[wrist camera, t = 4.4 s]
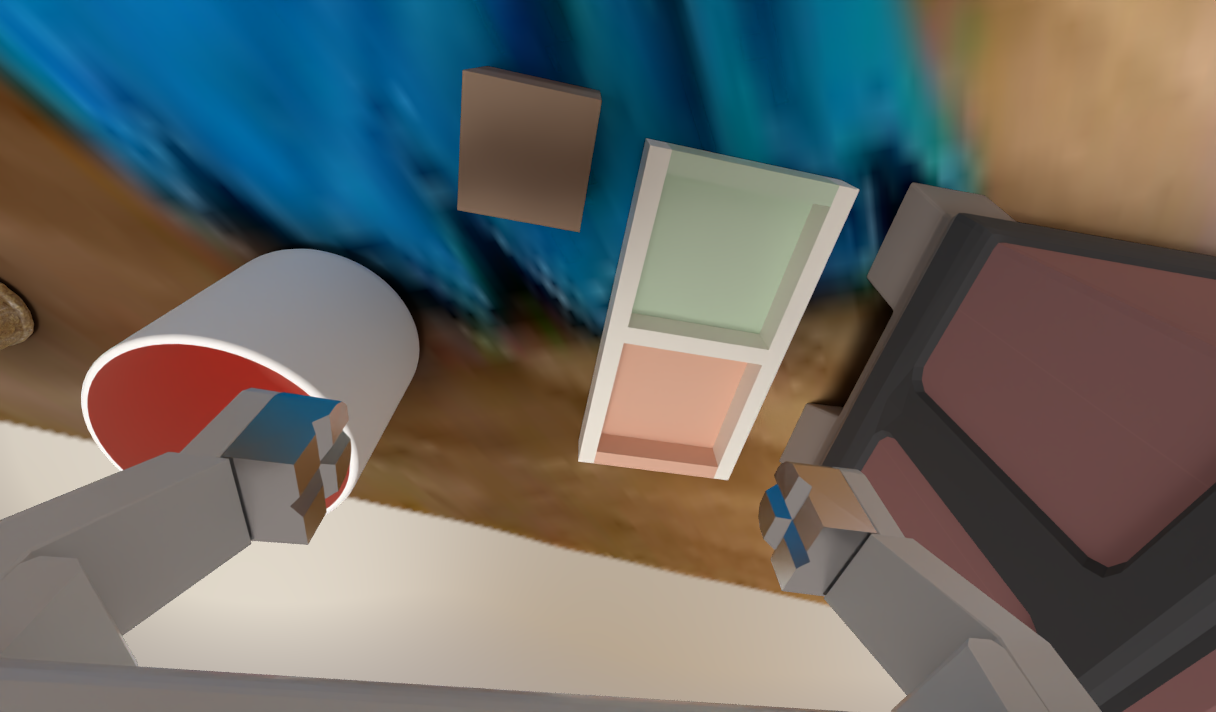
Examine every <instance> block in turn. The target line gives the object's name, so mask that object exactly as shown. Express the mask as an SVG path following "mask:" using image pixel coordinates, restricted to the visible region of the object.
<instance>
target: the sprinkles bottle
mask: <svg viewBox="0 0 1216 712" xmlns="http://www.w3.org/2000/svg"><path fill="white" fill-rule="evenodd" d="M33 327H34V322H33V320H32V315H31V313H30V310H29V309H28V308H27V306H26V304H25V303H24V302H23V301H22V299H21V298H20V297H19V296H18V295H16V294H15V293H14V292H13V291H11V290H10V289H9V288H7V286H6V285H4V284H2V283H0V350H2V349H3V348H5V347H7V346H12V345H15V344H18V343H21V342H23V341H25V340H26V339H27V338H28V337H29V336H30V335H31V334H32V333H33Z"/></svg>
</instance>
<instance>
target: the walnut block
mask: <svg viewBox="0 0 1216 712" xmlns="http://www.w3.org/2000/svg"><path fill="white" fill-rule="evenodd" d="M601 103H602V99H601V95H600V91H599V90H594V89H589V88H585V87H580V86H576V85H571V84H567V83H562V82H558V81H553V80H549V79H544V78H540V77H535V76H530V75H526V74H521V73H517V72H512V71H508V70H503V69H499V68H494V67H490V66H484V67H478V68H472V69H466V70H463V76H462V102H461V128H460V154H459V180H458V207H457V210H460V211H465V212H471V213H476V214H482V215H487V216H493V217H498V218H504V219H509V220H515V221H520V222H526V223H531V224H537V225H542V226H548V227H553V228H559V229H564V230H570V231H575V232H580V226H581V221H582V215H583V209H584V203H585V197H586V191H587V185H588V179H589V173H590V167H591V162H592V156H593V150H594V144H595V138H596V132H597V126H598V120H599V114H600V109H601Z"/></svg>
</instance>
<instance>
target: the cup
mask: <svg viewBox="0 0 1216 712" xmlns="http://www.w3.org/2000/svg"><path fill="white" fill-rule="evenodd" d="M418 360H419V338H418V333H417V329H416V326H415V323H414V321H413V318H412V316H411V314H410V312H409V310H408V309H407V307H406V305H405V304H404V302H403V301H402V299H401V298H400V297H399V295H398V294H397V293H396V292H395V291H394V290H393V289H392V287H390V286H389V285H388V284H387V283H386V282H385V281H384V280H383V279H382V278H380V277H379V276H378V275H376V274H375V273H374V272H372V271H371V270H369V269H368V268H366V267H364V266H362V265H361V264H359V263H357V262H355V261H352V260H350V259H348V258H345V257H343V256H340V255H337V254H333V253H329V252H325V251H320V250H314V249H286V250H279V251H274V252H270V253H267V254H264V255H261V256H259V257H257V258H255V259H253V260H251V261H249V262H248V263H246V264H244V265H243V266H241V267H240V268H238V269H237V270H235V271H233V272H232V273H230V274H229V275H227V276H225V277H224V278H222V279H221V280H219V281H217V282H216V283H214V284H213V285H211V286H209V287H208V288H206V289H205V290H203V291H201V292H200V293H198V294H197V295H195V296H193V297H192V298H190V299H189V300H187V301H186V302H184V303H182V304H181V305H179V306H178V307H176V308H174V309H173V310H171V311H170V312H168V313H166V314H165V315H163V316H162V317H160V318H158V319H157V320H155V321H154V322H152V323H150V324H149V325H147V326H146V327H144V328H143V329H141V330H139V331H138V332H136V333H135V334H133V335H131V336H130V337H128V338H127V339H125V340H123V341H122V342H120V343H119V344H117V345H115V346H114V347H112V348H111V349H109V350H108V351H106V352H105V353H104V354H102V355H101V356H100V357H99V358H98V359H97V360H96V361H95V362H94V363H93V365H92V366H91V368H90V369H89V371H88V372H87V375H86V377H85V379H84V382H83V386H82V392H81V407H82V412H83V416H84V420H85V422H86V425H87V428H88V430H89V432H90V434H91V436H92V437H93V439H94V441H95V442H96V444H97V445H98V447H99V448H100V450H101V451H102V452H103V453H104V455H105V456H106V457H107V458H108V459H109V460H110V461H111V462H112V464H113V465H114V466H116V468H117V469H118V470H120V471H122V470H125V469H127V468H130V467H132V466H135V465H137V464H140V463H142V462H145V461H147V460H149V459H152V458H154V457H157V456H159V455H162V454H164V453H167V452H175V453H180V452H181V451H182V450H183V449H184V448H185V447H186V446H187V445H188V444H189V443H190V442H191V441H192V440H193V439H194V438H195V437H196V436H197V435H198V434H199V433H200V432H201V431H202V430H203V429H204V428H205V427H206V426H207V425H208V424H209V423H210V422H211V421H212V420H213V419H214V418H215V417H216V416H217V415H218V414H219V413H220V412H221V411H222V410H223V409H224V408H225V407H226V406H227V405H228V404H229V403H230V402H231V401H232V400H233V399H234V398H235V397H236V396H237V395H238V394H239V393H240V392H241V391H243V390H246V389H249V388H257V389H263V390H270V391H276V392H281V393H282V392H286V393H292V394H299V395H305V396H311V397H318V398H324V399H331V400H337V401H342V402H344V403H345V404H346V405H347V409H348V416H349V420H348V422H347V424H346V425H345V427H344V428H343V431H344V432H345V433H346V434H347V436H348V437H349V438H350V439H351V459H350V464H349V467H348V471H347V474H346V477H345V479H344V481H343V483H342V485H341V487H340V489H339V491H338V492H336V493H334V494H333V495H331V496H329V497H328V498H326V499H325V503H326V511H327V512H326V514H328V513H329V512H331V511H333V510H334V509H335V508H337V507H338V506H339V505H340V504H341V503H342V502H343V501H344V500H345V499H346V498H347V497H348V496H349V494H350V493H351V491H352V489H353V488H354V486H355V484H356V482H357V480H358V478H359V477H360V475H361V473H362V471H363V469H364V467H365V465H366V464H367V462H368V460H369V458H370V456H371V454H372V452H373V451H374V449H375V447H376V445H377V443H378V441H379V439H380V438H381V436H382V434H383V432H384V430H385V428H386V426H387V425H388V423H389V421H390V419H391V417H392V415H393V413H394V412H395V410H396V408H397V406H398V404H399V402H400V400H401V399H402V397H403V395H404V393H405V391H406V389H407V387H408V386H409V384H410V382H411V380H412V378H413V376H414V374H415V371H416V368H417V364H418ZM326 514H325V515H326Z"/></svg>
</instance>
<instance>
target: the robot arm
mask: <svg viewBox="0 0 1216 712" xmlns="http://www.w3.org/2000/svg"><path fill="white" fill-rule="evenodd" d="M348 420H349V416H348V409H347V405H346V404H345V403H344V402H342V401H337V400H331V399H324V398H318V397H311V396H305V395H299V394H292V393H286V392H282V393H281V392H276V391H270V390H263V389H257V388H249V389H246V390H243V391H241V392H240V393H239V394H238V395H237V396H236V397H235V398H234V399H233V400H232V401H231V402H230V403H229V404H228V405H227V406H226V407H225V408H224V409H223V410H222V411H221V412H220V413H219V414H218V415H217V416H216V417H215V418H214V419H213V420H212V421H211V422H210V423H209V424H208V425H207V426H206V427H205V428H204V429H203V430H202V431H201V432H200V433H199V434H198V435H197V436H196V437H195V438H194V439H193V440H192V441H191V442H190V443H189V444H188V445H187V446H186V447H185V448H184V449H183V450H182V451H181V452H180V453H175V452H167V453H164V454H162V455H159V456H157V457H154V458H152V459H149V460H147V461H145V462H142V463H140V464H137V465H135V466H132V467H130V468H127V469H125V470H122V471H120V472H118V473H115V474H113V475H110V476H108V477H105V478H103V479H100V480H98V481H96V482H93V483H91V484H88V485H85V486H83V487H81V488H78V489H76V490H73V491H71V492H68V493H66V494H63V495H61V496H58V497H56V498H53V499H51V500H49V501H46V502H44V503H41V504H39V505H36V506H34V507H31V508H29V509H26V510H24V511H22V512H19V513H17V514H14V515H12V516H9V517H7V518H4V519H2V520H0V712H845V711H830V710H815V709H798V708H784V707H767V706H751V705H737V704H721V703H706V702H690V701H674V700H659V699H642V698H628V697H612V696H595V695H580V694H564V693H548V692H530V691H516V690H499V689H484V688H467V687H451V686H436V685H421V684H405V683H389V682H373V681H357V680H340V679H326V678H309V677H294V676H278V675H262V674H246V673H230V672H215V671H200V670H182V669H168V668H152V667H138V664H137V661H136V659H135V657H134V655H133V654H132V652H131V650H130V648H129V647H128V645H127V643H126V642H125V640H124V638H123V635H124V634H125V633H127V632H128V631H130V630H131V629H132V628H134V627H135V626H137V625H138V624H139V623H141V622H142V621H144V620H145V619H146V618H148V617H149V616H151V615H152V614H153V613H155V612H156V611H158V610H159V609H160V608H162V607H163V606H165V605H166V604H167V603H169V602H170V601H172V600H173V599H174V598H176V597H177V596H179V595H180V594H181V593H183V592H184V591H186V590H187V589H188V588H190V587H191V586H192V585H194V584H196V583H197V582H198V581H199V580H201V579H203V578H204V577H205V576H207V575H208V574H210V573H211V572H212V571H214V570H215V569H216V568H218V567H219V566H221V565H222V564H223V563H225V562H226V561H228V560H229V559H231V558H232V557H233V556H235V555H236V554H238V553H239V552H240V551H242V550H243V549H245V548H246V547H247V546H249V545H250V544H251V541H264V542H278V543H292V544H306V545H308V544H309V542H310V540H311V538H312V537H313V535H314V533H315V531H316V529H317V528H318V526H319V524H320V523H321V521H322V519H323V517H324V516H325V514H326V512H327V511H326V503H325V499H326V498H328V497H329V496H331V495H333V494H334V493H336V492H338V491H339V489H340V487H341V485H342V483H343V481H344V479H345V477H346V474H347V471H348V467H349V464H350V459H351V439H350V438H349V437H348V436H347V434H346V433H345V432H344V431H343V428H344V427H345V425H346V424H347V422H348ZM774 476H775V479H776V482H777V484H776V485H775V486H773V487H771V488H770V489H768V490H767V491H765V494H764V496H763V498H762V500H761V502H760V507H759V516H758V517H759V525H760V530H761V533H762V536H763V539H764V540H765V541H766V542H767V543H768V544H769V545H770V546H771V547H772V548H773V549H774V552H773V555H772V557H771V562H772V564H773V567H774V570H775V573H776V576H777V578H778V581H779V584H780V587H781V589H782V591H787V592H795V593H803V594H811V595H819V596H825V597H824V599H825V600H826V601H827V603H828V604H829V605H830V606H831V607H832V608H833V610H834V611H835V612H836V613H837V614H838V615H839V617H840V618H841V619H842V620H843V621H844V622H845V624H846V625H847V626H848V627H849V628H850V629H851V631H852V632H853V633H854V634H855V635H856V636H857V638H858V639H859V640H860V641H861V642H862V643H863V645H864V646H865V647H866V648H867V649H868V650H869V652H870V653H871V654H872V655H873V656H874V657H875V659H876V660H877V661H878V662H879V663H880V664H881V666H882V667H883V668H884V669H885V670H886V671H887V673H888V674H889V675H890V676H891V677H892V678H893V680H894V681H895V682H896V683H897V684H898V685H899V687H900V688H901V689H902V690H903V691H904V692H905V694H906V695H907V696H906V697H905V698H904V699H903V700H902V701H901V702H900V703H899V704H898V705H897V706H895V707H894V708H893V709H892V711H891V712H1102V711H1101V710H1100V709H1099V707H1098V706H1097V705H1096V703H1095V702H1094V701H1093V699H1092V698H1091V697H1090V695H1089V694H1088V693H1087V692H1086V690H1085V689H1084V688H1083V686H1082V685H1081V684H1080V682H1079V681H1078V680H1077V678H1076V677H1075V676H1074V675H1073V673H1072V672H1071V671H1070V669H1069V668H1068V667H1067V665H1066V664H1065V663H1064V661H1063V660H1062V659H1061V658H1060V656H1059V655H1058V654H1057V652H1056V651H1055V650H1054V648H1053V647H1052V646H1051V644H1050V643H1049V642H1047V641H1046V640H1045V639H1043V638H1042V637H1041V636H1039V635H1038V634H1037V633H1036V632H1034V631H1033V630H1032V629H1030V628H1029V627H1028V626H1026V625H1025V624H1024V623H1022V622H1021V621H1020V620H1019V619H1017V618H1016V617H1015V616H1013V615H1012V614H1011V613H1009V612H1008V611H1007V610H1005V609H1004V608H1003V607H1002V606H1000V605H999V604H998V603H996V602H995V601H994V600H992V599H991V598H990V597H988V596H987V595H986V594H985V593H983V592H982V591H981V590H979V589H978V588H977V587H975V586H974V585H973V584H971V583H970V582H969V581H968V580H966V579H965V578H964V577H962V576H961V575H960V574H958V573H957V572H956V571H954V570H953V569H952V568H951V567H949V566H948V565H947V564H945V563H944V562H943V561H941V560H940V559H939V558H937V557H936V556H935V555H934V554H932V553H931V552H930V551H928V550H927V549H926V548H924V547H923V546H922V545H920V544H919V543H918V542H917V541H915V540H914V539H911V538H905V536H904V535H903V533H902V532H901V530H900V529H899V527H898V526H897V524H896V522H895V521H894V519H893V518H892V516H891V515H890V513H889V512H888V510H887V508H886V507H885V505H884V504H883V502H882V501H881V499H880V498H879V496H878V494H877V493H876V491H875V490H874V488H873V487H872V485H871V484H870V482H869V480H868V479H867V477H866V476H865V475H864V474H863V473H862V472H860V471H859V470H857V469H848V468H839V467H827V466H819V465H812V464H804V463H796V462H788V461H785V462H784V463H782V464H781V465H780V466H779V467H778V469H777V471H776V473H775V474H774Z"/></svg>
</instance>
